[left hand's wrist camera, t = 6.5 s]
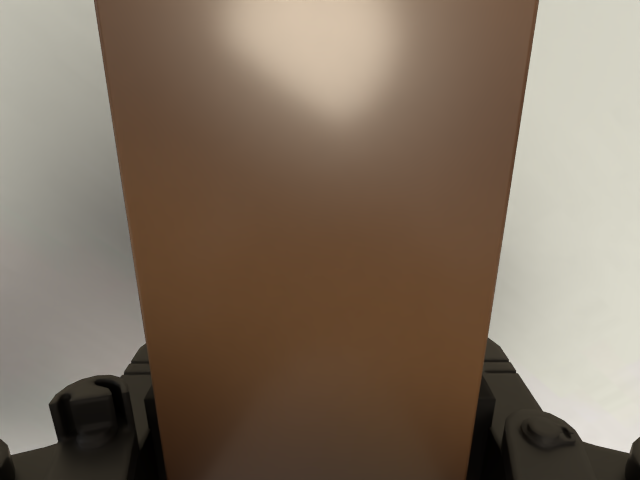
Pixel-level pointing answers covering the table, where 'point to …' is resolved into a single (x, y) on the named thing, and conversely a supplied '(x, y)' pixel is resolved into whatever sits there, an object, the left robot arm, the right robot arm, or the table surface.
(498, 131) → the post
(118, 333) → the table surface
